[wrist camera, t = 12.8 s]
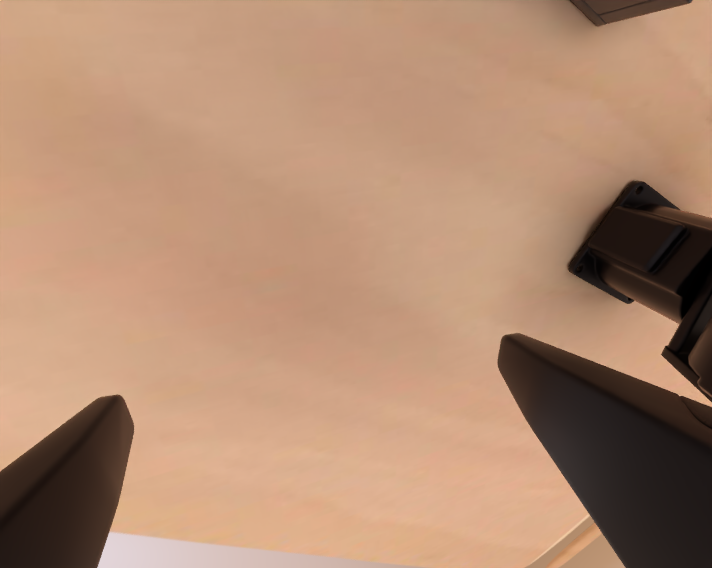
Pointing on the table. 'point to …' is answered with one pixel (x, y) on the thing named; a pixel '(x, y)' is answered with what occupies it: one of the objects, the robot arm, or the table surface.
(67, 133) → the table surface
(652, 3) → the compartment tray
